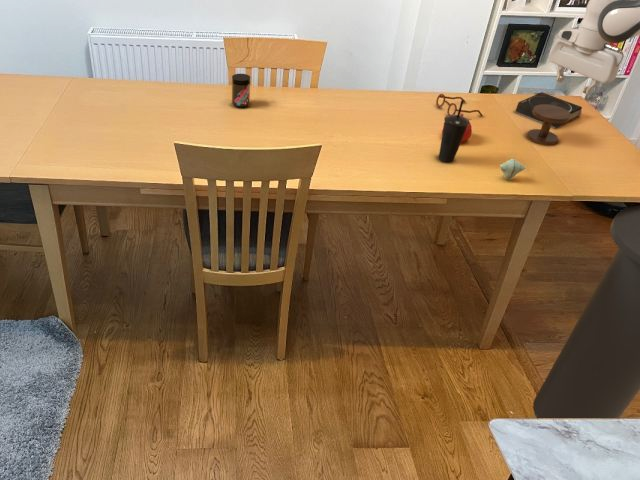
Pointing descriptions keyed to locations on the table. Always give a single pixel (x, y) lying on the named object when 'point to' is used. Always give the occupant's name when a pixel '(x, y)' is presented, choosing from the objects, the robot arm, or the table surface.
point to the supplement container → (240, 90)
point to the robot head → (511, 168)
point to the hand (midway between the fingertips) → (572, 87)
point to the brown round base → (547, 123)
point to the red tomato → (467, 132)
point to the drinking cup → (452, 135)
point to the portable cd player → (528, 104)
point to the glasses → (453, 104)
